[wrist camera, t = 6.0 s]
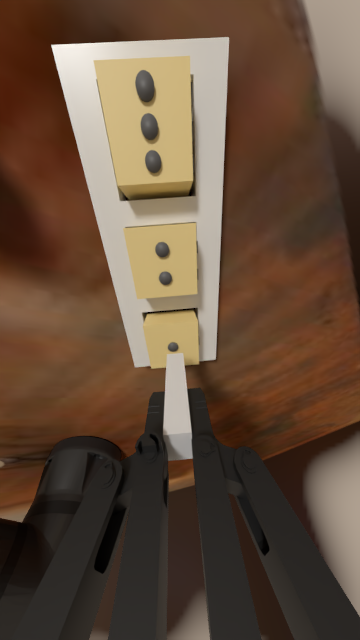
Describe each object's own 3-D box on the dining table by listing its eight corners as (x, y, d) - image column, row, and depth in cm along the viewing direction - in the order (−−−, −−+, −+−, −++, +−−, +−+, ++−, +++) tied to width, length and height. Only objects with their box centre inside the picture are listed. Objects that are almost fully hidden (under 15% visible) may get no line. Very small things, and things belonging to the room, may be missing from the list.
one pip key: (196, 347, 22) (200, 365, 18) (154, 351, 21) (151, 369, 18) (194, 309, 19) (200, 321, 16) (147, 313, 19) (142, 326, 16)
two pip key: (194, 286, 18) (199, 294, 14) (143, 290, 18) (136, 299, 14) (192, 228, 15) (198, 222, 12) (132, 233, 15) (122, 227, 12)
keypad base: (211, 349, 24) (215, 359, 22) (138, 356, 24) (135, 367, 22) (218, 76, 12) (229, 37, 10) (73, 84, 12) (51, 44, 10)
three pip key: (190, 195, 15) (195, 179, 12) (129, 200, 15) (116, 184, 11) (187, 106, 12) (193, 51, 9) (113, 110, 12) (91, 56, 9)
